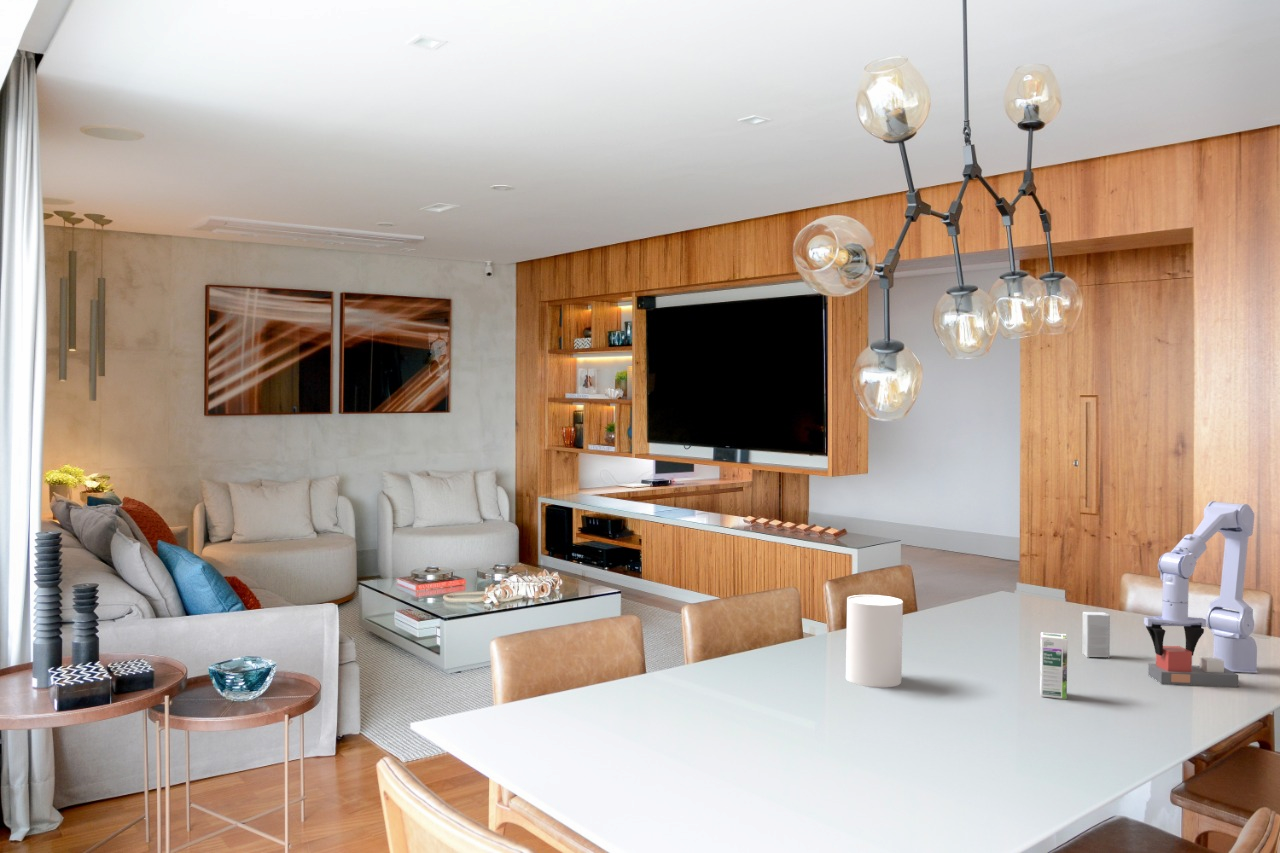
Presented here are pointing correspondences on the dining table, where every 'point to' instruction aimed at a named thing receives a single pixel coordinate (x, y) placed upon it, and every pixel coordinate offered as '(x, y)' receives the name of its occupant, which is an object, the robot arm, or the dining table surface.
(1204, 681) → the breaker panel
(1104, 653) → the skincare box
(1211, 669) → the block
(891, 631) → the canister
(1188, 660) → the cap
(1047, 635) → the syrup box
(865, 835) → the dining table surface
